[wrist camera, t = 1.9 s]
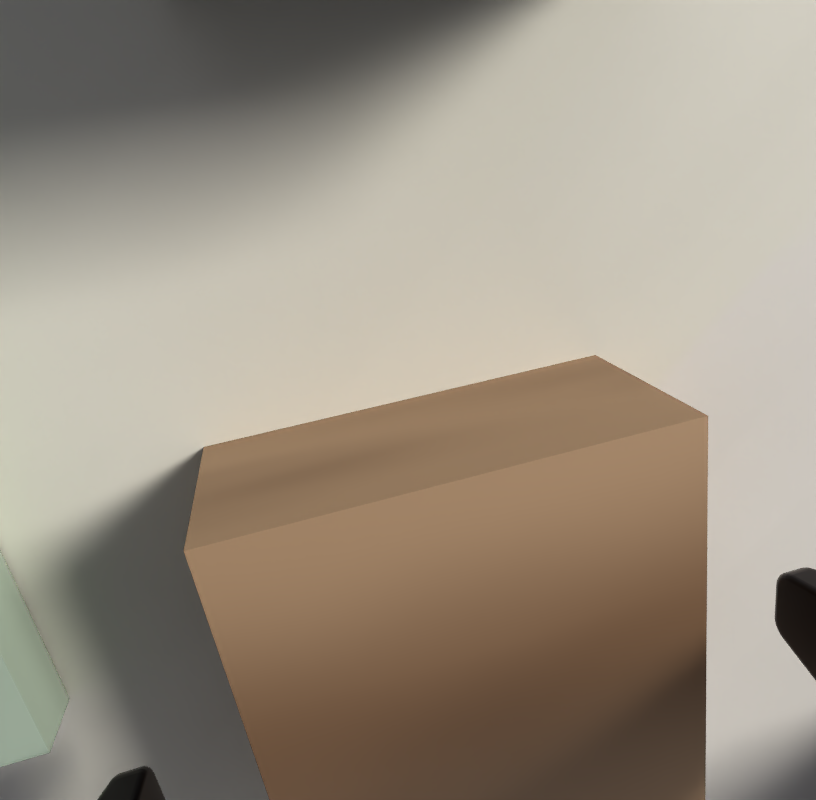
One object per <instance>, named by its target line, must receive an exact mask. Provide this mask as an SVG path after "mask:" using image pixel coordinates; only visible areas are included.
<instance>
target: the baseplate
mask: <svg viewBox="0 0 816 800" xmlns="http://www.w3.org/2000/svg"><path fill="white" fill-rule="evenodd" d="M68 701H69V697H68V695H67V693H66V690H65V688H64V686H63V684H62V682H61V680H60V677H59V675H58V673H57V671H56V669H55V667H54V665H53V662H52V660H51V658H50V656H49V654H48V652H47V650H46V647H45V645H44V643H43V641H42V639H41V637H40V635H39V632H38V630H37V628H36V626H35V624H34V622H33V619H32V617H31V615H30V613H29V611H28V609H27V607H26V604H25V602H24V600H23V598H22V596H21V594H20V592H19V589H18V587H17V585H16V583H15V581H14V579H13V577H12V574H11V572H10V570H9V568H8V566H7V564H6V561H5V559H4V557H3V555H2V553H1V551H0V767H3V766H6V765H10V764H13V763H16V762H20V761H23V760H27V759H30V758H33V757H37V756H40V755H44V754H47V753H50V751H51V748H52V745H53V743H54V740H55V737H56V734H57V732H58V729H59V726H60V723H61V721H62V718H63V715H64V712H65V710H66V707H67V704H68Z"/></svg>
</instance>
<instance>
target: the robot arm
mask: <svg viewBox="0 0 816 800" xmlns="http://www.w3.org/2000/svg"><path fill="white" fill-rule="evenodd" d="M775 622H776V626H777V628H778V631H779V632H780V634H781V636H782V637H783V639H784V640H785V641H786V643H787V644H788V645H789V646H790V648H791V649H792V650H793V652H794V653H795V654H796V655H797V657H798V658H799V659H800V661H801V662H802V663H803V665H804V666H805V667H806V668H807V670H808V671H809V672H810V674H811V675H812V676H813V677H814V679H815V680H816V570H815V569H811V568H800V569H796V570H793V571H790V572H786V573H783V574H782V575H780V576H779V578H778V580H777V585H776V605H775ZM98 800H165V797H164V795H163V793H162V790H161V788H160V786H159V783H158V781H157V779H156V776H155V774H154V772H153V770H152V769H151V768H150V767H148V766H143V767H139V768H136V769H133V770H129V771H126V772H123V773H120V774H118V775H116V776H115V777H114V778H113V779H112V780H111V781H110V782H109V784H108V785H107V787H106V788H105V790H104V791H103V792H102V794H101V795H100V797H99V798H98Z"/></svg>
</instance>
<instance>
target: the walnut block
mask: <svg viewBox="0 0 816 800" xmlns="http://www.w3.org/2000/svg"><path fill="white" fill-rule="evenodd" d="M707 477H708V416H707V415H705V414H704V413H702V412H700V411H698V410H696V409H694V408H692V407H691V406H689V405H687V404H685V403H683V402H681V401H679V400H678V399H676V398H674V397H672V396H670V395H668V394H666V393H665V392H663V391H661V390H659V389H657V388H655V387H653V386H652V385H650V384H648V383H646V382H644V381H642V380H640V379H639V378H637V377H635V376H633V375H631V374H629V373H628V372H626V371H624V370H622V369H620V368H618V367H616V366H615V365H613V364H611V363H609V362H607V361H605V360H603V359H602V358H600V357H598V356H596V355H594V356H590V357H585V358H581V359H577V360H572V361H568V362H564V363H560V364H555V365H551V366H547V367H543V368H538V369H534V370H530V371H526V372H521V373H517V374H513V375H509V376H504V377H500V378H496V379H492V380H487V381H483V382H479V383H475V384H470V385H466V386H462V387H458V388H453V389H449V390H445V391H441V392H436V393H432V394H428V395H424V396H419V397H415V398H411V399H407V400H402V401H398V402H394V403H390V404H385V405H381V406H377V407H373V408H368V409H364V410H360V411H356V412H351V413H347V414H343V415H339V416H334V417H330V418H326V419H321V420H317V421H313V422H309V423H304V424H300V425H296V426H292V427H287V428H283V429H279V430H275V431H270V432H266V433H262V434H258V435H253V436H249V437H245V438H241V439H236V440H232V441H228V442H224V443H219V444H215V445H211V446H207V447H204V448H203V453H202V458H201V464H200V469H199V474H198V479H197V484H196V489H195V495H194V500H193V505H192V510H191V515H190V521H189V526H188V531H187V536H186V541H185V547H184V554H185V557H186V560H187V562H188V565H189V568H190V571H191V574H192V577H193V580H194V583H195V586H196V589H197V591H198V594H199V597H200V600H201V603H202V606H203V609H204V612H205V615H206V617H207V620H208V623H209V626H210V629H211V632H212V635H213V638H214V641H215V643H216V646H217V649H218V652H219V655H220V658H221V661H222V664H223V667H224V670H225V672H226V675H227V678H228V681H229V684H230V687H231V690H232V693H233V696H234V698H235V701H236V704H237V707H238V710H239V713H240V716H241V719H242V722H243V724H244V727H245V730H246V733H247V736H248V739H249V742H250V745H251V748H252V751H253V753H254V756H255V759H256V762H257V765H258V768H259V771H260V774H261V777H262V779H263V782H264V785H265V788H266V791H267V794H268V797H269V800H705V760H706V619H707Z"/></svg>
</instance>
